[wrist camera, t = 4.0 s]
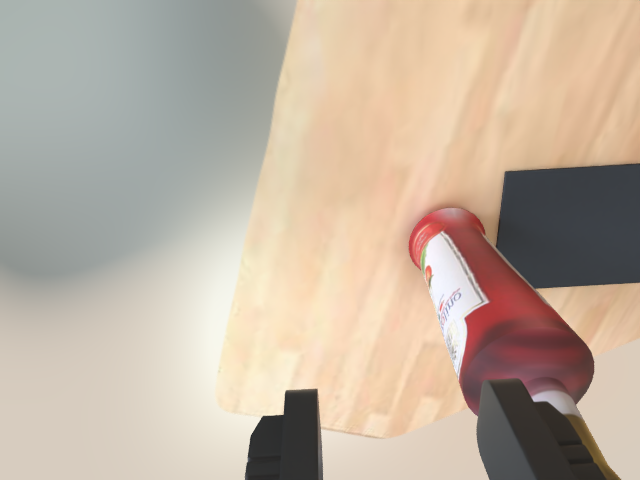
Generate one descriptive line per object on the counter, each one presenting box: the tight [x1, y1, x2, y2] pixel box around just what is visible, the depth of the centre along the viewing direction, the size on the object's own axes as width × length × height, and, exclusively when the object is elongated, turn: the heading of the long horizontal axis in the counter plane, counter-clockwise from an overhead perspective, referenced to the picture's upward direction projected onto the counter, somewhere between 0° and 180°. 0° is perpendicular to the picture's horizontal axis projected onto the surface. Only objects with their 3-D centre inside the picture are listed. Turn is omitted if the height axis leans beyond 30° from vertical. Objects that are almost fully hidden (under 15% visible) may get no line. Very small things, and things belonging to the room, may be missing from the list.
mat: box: [496, 164, 640, 289], centre depth 43 cm, size 19×12×1 cm, turn 93°
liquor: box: [409, 208, 621, 480], centre depth 31 cm, size 7×7×28 cm
